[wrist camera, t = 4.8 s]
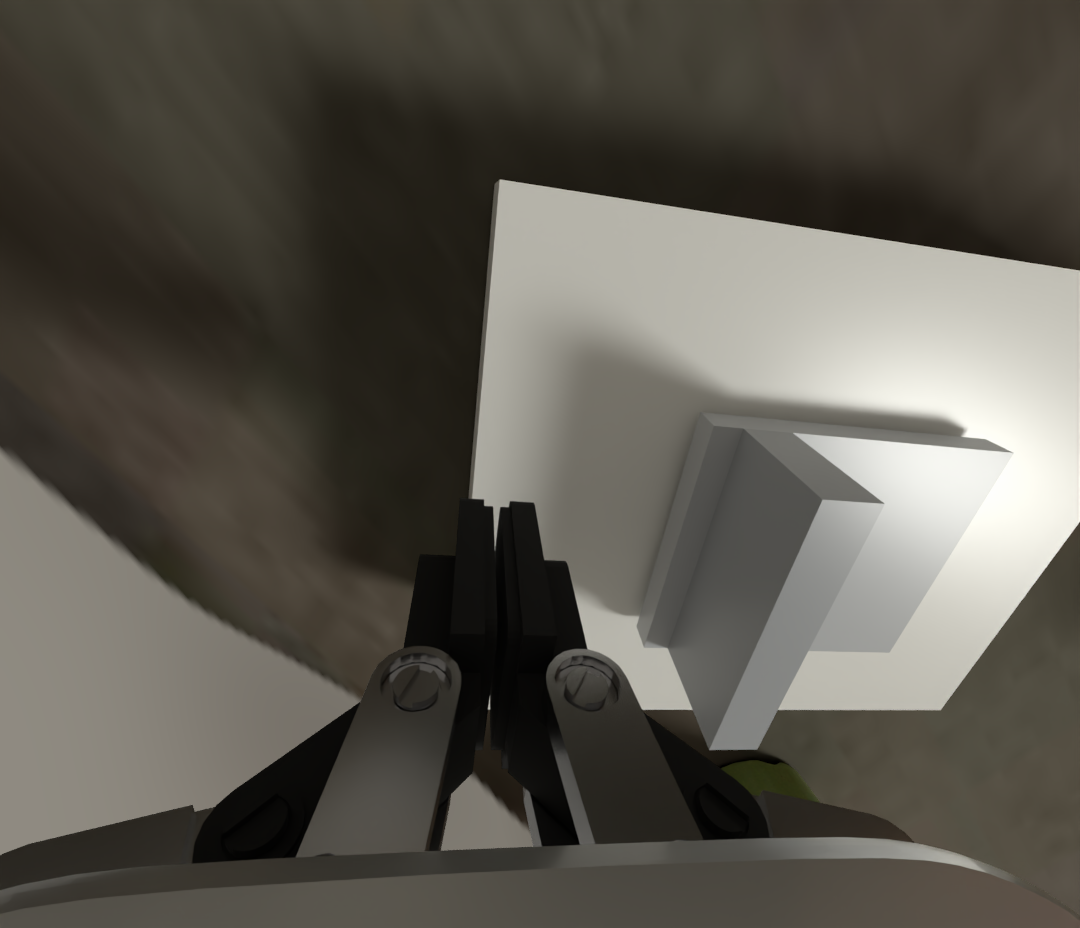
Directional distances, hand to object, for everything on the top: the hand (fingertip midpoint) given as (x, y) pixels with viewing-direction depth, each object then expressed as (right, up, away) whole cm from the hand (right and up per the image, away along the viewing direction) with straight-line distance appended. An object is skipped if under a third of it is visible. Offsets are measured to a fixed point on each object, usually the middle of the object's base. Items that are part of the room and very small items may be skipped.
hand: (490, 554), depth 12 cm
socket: (+8, +2, +7) cm, 11 cm away
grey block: (+8, 0, +2) cm, 9 cm away
